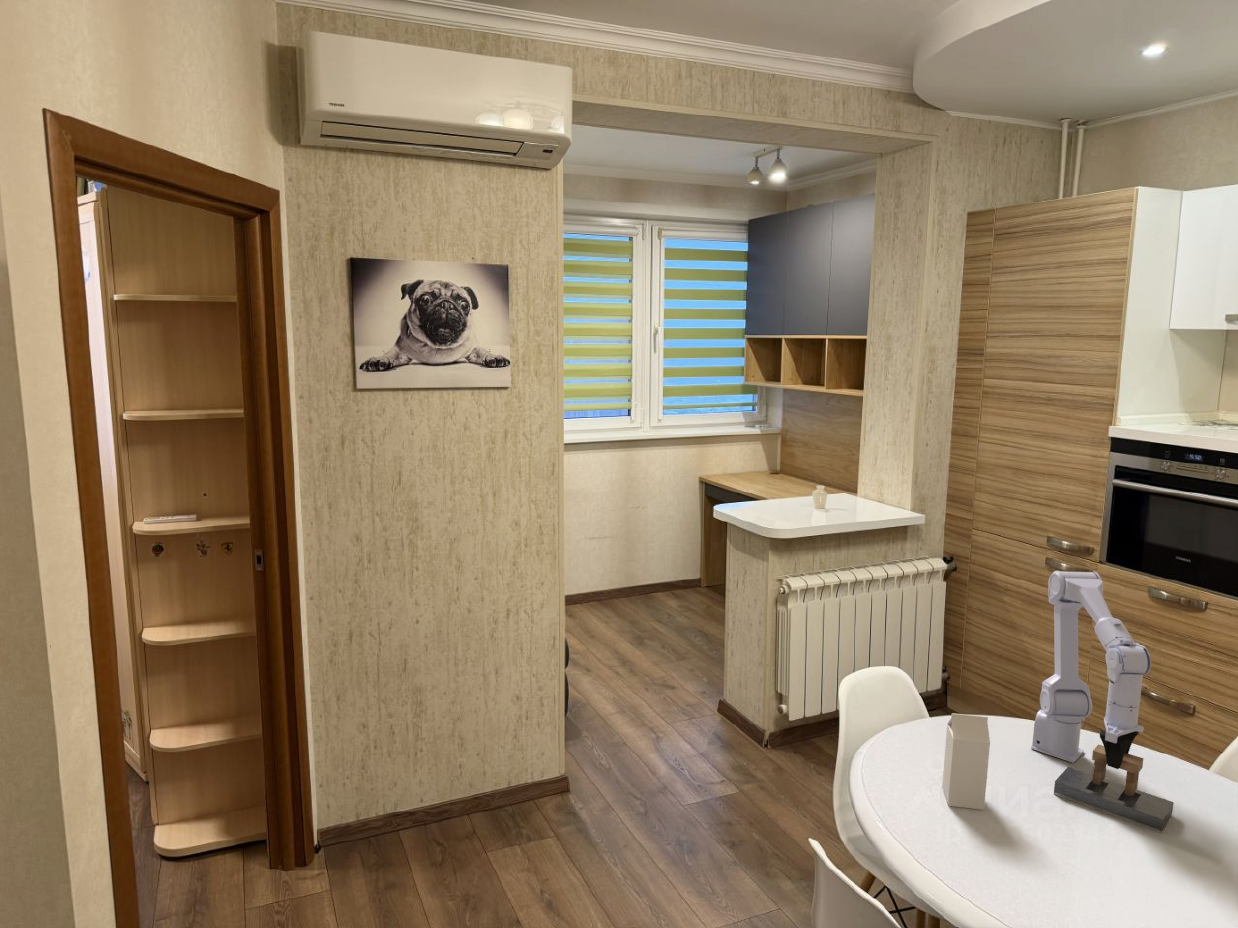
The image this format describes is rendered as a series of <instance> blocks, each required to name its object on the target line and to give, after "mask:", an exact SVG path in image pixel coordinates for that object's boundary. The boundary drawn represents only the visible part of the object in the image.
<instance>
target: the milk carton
mask: <svg viewBox="0 0 1238 928" xmlns="http://www.w3.org/2000/svg"><path fill="white" fill-rule="evenodd" d="M950 716H951V718H950V719H949V720H948V722H947V725H946V736H945V746H944V747H945V748H944V759H943V760H944V761H943V771H942V772H943V774H942V785H941V788H942V791H943V795H944V797H945V800H946V804H947V806H950V807H958V808H965V809H972V810H973V809H974V810H985V803H986V802H985V801H986V791H987V780H988V768H989V758H990V757H989V756H990V746H991V740H990V731H989V725H988V723H989V722H988V721H989V719H988V716H982V715H972V714H962V713H954V712H953V713H951V715H950Z"/></svg>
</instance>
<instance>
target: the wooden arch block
mask: <svg viewBox="0 0 1238 928" xmlns="http://www.w3.org/2000/svg"><path fill="white" fill-rule="evenodd" d="M1091 755H1092V757H1091V760H1092V761H1094V762H1093V771H1092V772H1093V773H1092V775H1093V781H1092V783H1095V784H1098V785H1100V784H1101V783H1102V781H1103V780H1104V779H1106V774H1107V772H1106V771H1107V766H1108V765H1107V760H1106V753H1105V748H1104V745H1102V744H1098V745H1096V747H1094V748H1093V750H1092V754H1091ZM1143 766H1144V757H1140V756H1137V755H1134V754H1130V753H1125V754H1124V757H1123V760H1122V763H1121V766H1120V768H1119V769H1120V770H1122V771H1126V777H1125V784H1124V786H1125V794H1127V795H1130V796H1133V794H1134V793H1135V791H1136V790H1138V784H1139V775H1140V772H1141V770H1142V769H1143Z"/></svg>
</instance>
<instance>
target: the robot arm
mask: <svg viewBox="0 0 1238 928" xmlns="http://www.w3.org/2000/svg"><path fill="white" fill-rule="evenodd" d="M1047 581H1048V582H1047V583H1048V584H1047V586H1048V589H1047V590H1048V603H1049V604H1051V605H1053V619H1054V621H1053V625H1054V627H1053V628H1054V629H1053V630H1054V640H1053V641H1054V648H1053V649H1054V674H1053V675H1051V676H1050V677H1048V678H1046V679H1045V680H1043V681H1042V682H1041V692H1040V694H1039V704H1040V708H1041V709H1039V710H1038V711H1037V713H1036V715H1035V719H1034V724H1033V725H1034V726H1033V736H1032V745H1031V747H1030V749H1031V750H1033V751H1037V752H1040V753H1043V754H1046V755H1048V756H1051V757H1055V758H1057V759H1060V760H1064V761H1067V762H1070V763H1076V761H1077V760H1078V759H1079V758H1080V757H1081V755H1083V753H1084V751H1085V750H1084V749H1082V748H1079V745H1080V737H1081V730H1082V729H1081V728H1082V722H1085V721H1086V718H1087V717H1089V716H1090V715H1091V713H1092V711H1093V700H1092V698H1091V692H1090V686H1089V685H1088V684H1087V683H1086V682H1085V681H1083V680H1082V679H1081V678H1080V677H1079V675H1080V674H1079V673H1080V672H1079V671H1080V670H1079V611H1080V609H1082V608H1084V609H1085V610H1086V612H1087V613H1088V615H1089V616H1090V617H1091V619H1092V620H1093V621H1094V623H1095V626H1094V629H1093V630H1094V633H1095V635H1096V637H1097V638H1098V640H1099V642H1100V644H1101V645H1102V647H1103V650H1104V651H1105V652H1106V653H1105V662H1106V667H1107V671H1106V674H1107V678H1108V679H1109V680H1108V688H1107V690H1108V691H1107V697H1106V699H1107V701H1106V706H1105V707H1106V708H1105V709H1106V710H1105V715H1104V717H1103V723H1104V727H1105V730H1101V731H1100V732H1099V739H1100V740H1101V743H1102V744H1103V745H1102V746H1104V748H1105V753H1106V760H1107V765H1106V766H1108V767H1110V768H1114V769H1115V770H1119V769H1120V766H1121V763H1122V760H1123V757H1124V754H1125V753H1128V754H1130V753H1129V752H1130V749H1131V746H1132V744H1133V743H1134V740H1135V738H1136V737H1137V736H1138V735H1139V733H1143V732H1144V730H1145V729H1144V728H1145V727H1144V726H1143V725H1139V724H1138V720H1139V712H1140V705H1141V697H1142V696H1141V695H1142V687H1143V679H1144V675H1147V674H1148V673H1150V671H1151V667H1152V658H1151V655H1150V652H1149V651H1148V648H1147V647H1146V646H1145V645H1141V644H1140V643H1139V642H1135V641H1134V638H1132V635H1131V634H1130V632H1129V631H1128V629H1127V628H1126V626H1125V624H1124V623H1123V622H1122V620H1121V619H1119V618H1116V617H1113V615H1112V613H1111V611H1110V609H1109V606H1108V604H1107V602H1106V600H1105V598H1104V595H1103V594H1104V581H1103V579H1102V577H1101V575H1100V574H1099V573H1098V572H1096V571H1090V572H1089V571H1087V572H1086V571H1063V570H1062V571H1060V570H1054V571H1053V572H1052V573H1051V575H1050V576H1049V578H1048V580H1047Z"/></svg>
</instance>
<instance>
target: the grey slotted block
mask: <svg viewBox="0 0 1238 928" xmlns="http://www.w3.org/2000/svg"><path fill="white" fill-rule="evenodd" d="M1092 781H1093V773H1090V772H1089V773H1088V772H1085V771H1082V770H1080V769H1077V768H1074V767H1071V766H1067V767H1066V768H1065V769H1064V770H1063V772H1061V774H1060V775H1059V776H1058V777H1057V778H1056V779H1055V781H1054V787H1053V795H1055V796H1058V797H1061V798H1063V799H1066V800H1069V801H1071V802H1074V803H1077V804H1080V805H1083V806H1085V807H1088V808H1091V809H1094V810H1096V811H1099V812H1102V813H1104V814H1107V815H1110V816H1111V817H1112V816H1113V817H1116V818H1118V819H1120V820H1124V821H1126V822H1129V823H1132V824H1134V825H1138V826H1139V827H1143V828H1146V829H1149V830H1152V831H1153V832H1154V831H1155V832H1157V833H1160V834H1163V832H1164V831H1165V828H1166V827H1167V825H1168V824H1169V822H1170V820H1171V818H1172V817H1173V811H1174V809H1173V808H1174V804H1175V802H1174V801H1171V800H1168V799H1166V798H1163V797H1160V796H1156V795H1155V794H1154V795H1153V794H1150V793H1147V792H1144V791H1142V790H1139V789H1137V790H1136V791H1135V793H1134V794H1133V796H1130V795H1127V794H1125V784H1121V783H1119V782H1115V781H1113V780H1111V779H1110V780H1109V779H1107V778H1105V779H1104V780H1103V781H1102V783H1101V784H1100V785H1098V784H1095V783H1092Z"/></svg>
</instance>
